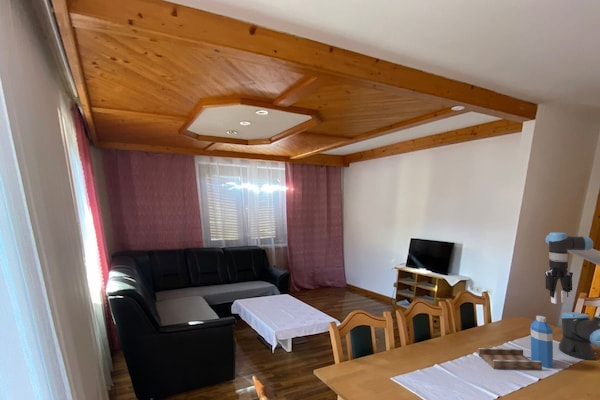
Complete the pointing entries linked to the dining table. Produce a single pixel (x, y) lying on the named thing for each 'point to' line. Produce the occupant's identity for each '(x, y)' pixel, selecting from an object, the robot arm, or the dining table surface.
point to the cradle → (508, 359)
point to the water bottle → (542, 342)
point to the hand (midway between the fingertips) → (559, 303)
